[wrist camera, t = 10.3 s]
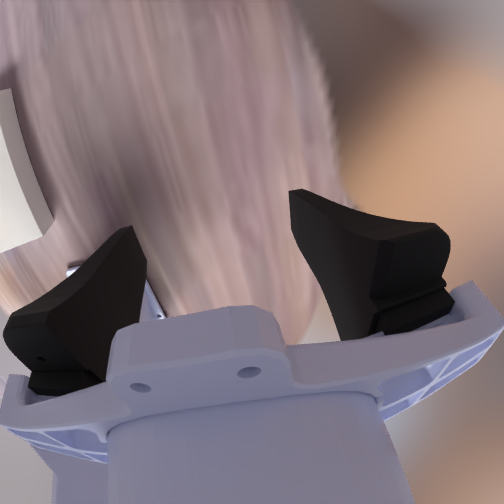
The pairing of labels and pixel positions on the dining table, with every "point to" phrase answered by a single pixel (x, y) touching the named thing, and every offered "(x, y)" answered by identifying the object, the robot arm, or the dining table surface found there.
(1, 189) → the socket plate
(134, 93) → the dining table surface
